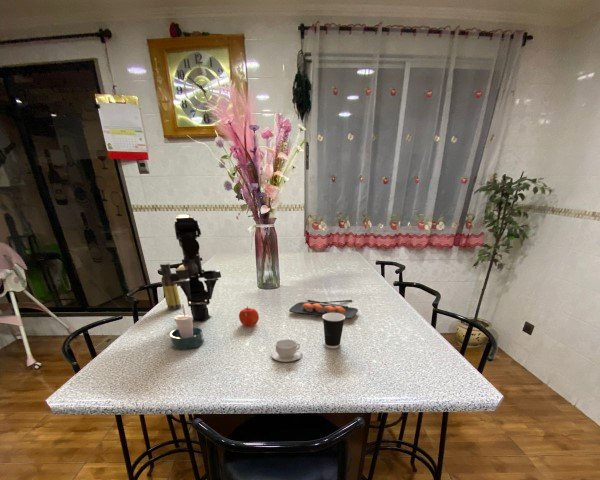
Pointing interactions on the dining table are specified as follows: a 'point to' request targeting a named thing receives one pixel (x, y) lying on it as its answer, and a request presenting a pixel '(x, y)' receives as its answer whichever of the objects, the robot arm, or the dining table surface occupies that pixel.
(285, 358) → the teacup
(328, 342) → the dixie cup
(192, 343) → the bowl
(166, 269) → the sauce bottle
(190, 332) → the smoothie
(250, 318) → the apple
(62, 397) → the dining table surface
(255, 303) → the dining table surface
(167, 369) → the dining table surface
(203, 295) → the robot arm
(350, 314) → the sushi plate
